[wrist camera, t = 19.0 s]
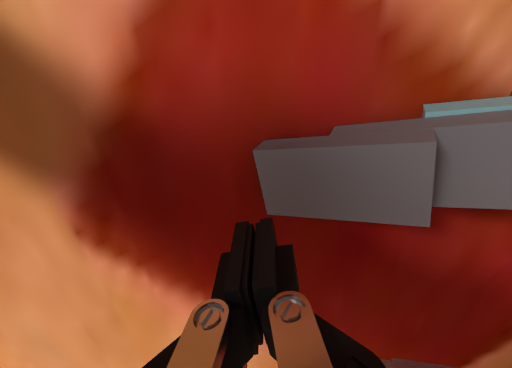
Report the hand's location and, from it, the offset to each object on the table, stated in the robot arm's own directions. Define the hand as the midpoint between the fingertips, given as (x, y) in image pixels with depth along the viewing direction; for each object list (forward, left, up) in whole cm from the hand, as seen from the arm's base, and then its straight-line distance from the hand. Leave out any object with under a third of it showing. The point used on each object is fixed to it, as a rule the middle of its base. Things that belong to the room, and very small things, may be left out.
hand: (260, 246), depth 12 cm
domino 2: (+5, 0, -8) cm, 9 cm away
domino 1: (0, 0, -8) cm, 8 cm away
